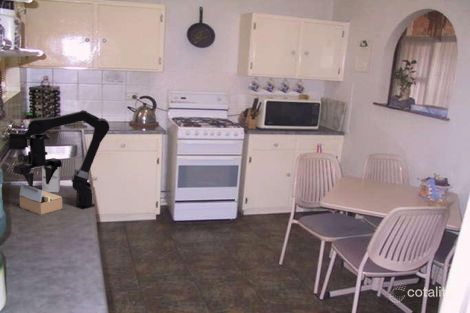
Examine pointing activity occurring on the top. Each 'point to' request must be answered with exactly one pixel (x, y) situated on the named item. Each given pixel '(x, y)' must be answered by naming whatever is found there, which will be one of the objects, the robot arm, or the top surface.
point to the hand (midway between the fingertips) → (39, 185)
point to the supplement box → (51, 181)
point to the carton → (42, 203)
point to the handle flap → (31, 192)
